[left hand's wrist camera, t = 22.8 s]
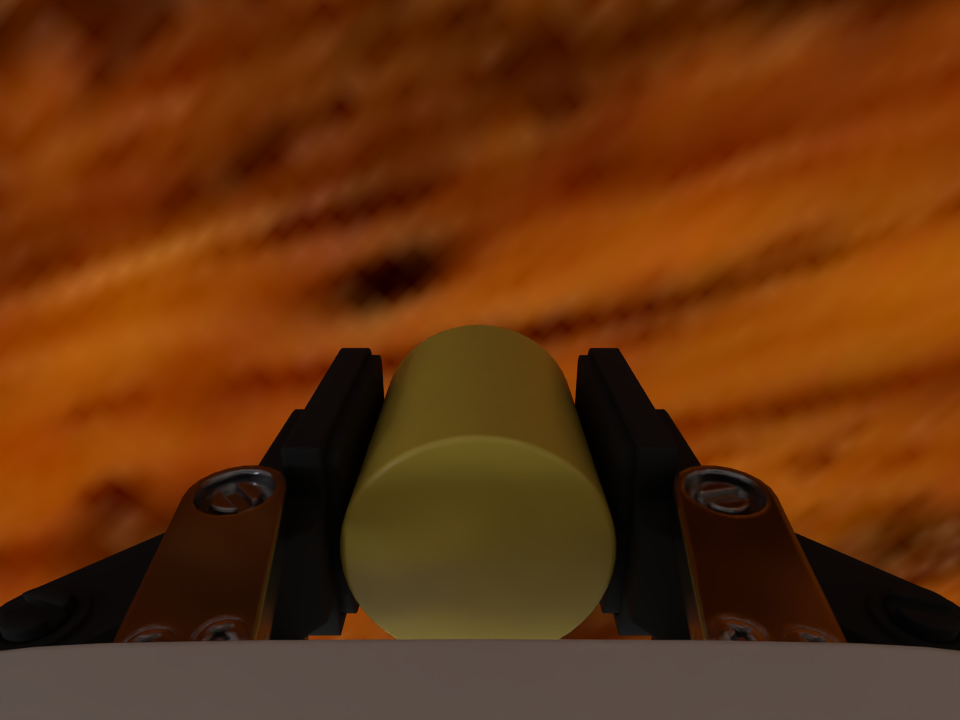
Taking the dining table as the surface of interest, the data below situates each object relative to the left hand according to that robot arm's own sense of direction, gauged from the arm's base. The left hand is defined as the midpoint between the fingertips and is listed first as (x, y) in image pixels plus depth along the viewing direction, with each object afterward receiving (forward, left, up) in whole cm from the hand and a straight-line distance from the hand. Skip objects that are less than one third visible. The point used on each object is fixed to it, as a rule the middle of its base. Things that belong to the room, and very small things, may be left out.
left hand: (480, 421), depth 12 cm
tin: (0, 0, 0) cm, 0 cm away
